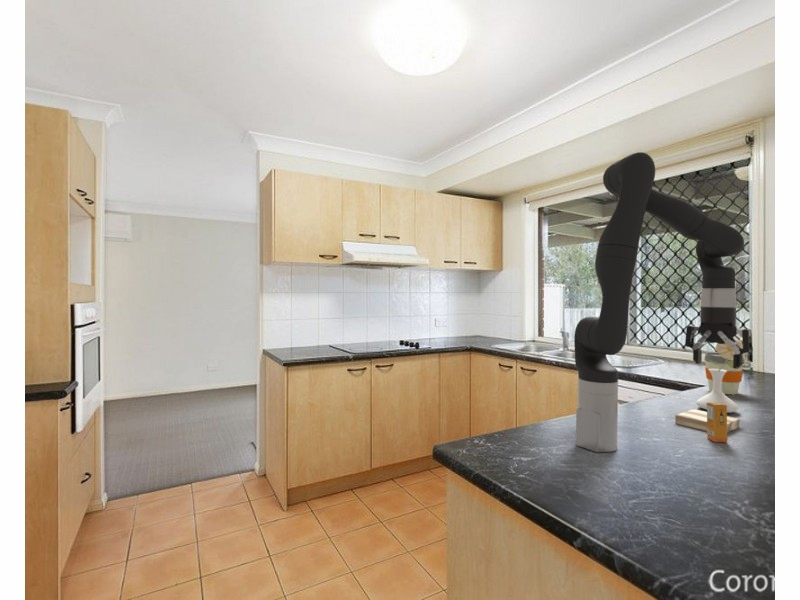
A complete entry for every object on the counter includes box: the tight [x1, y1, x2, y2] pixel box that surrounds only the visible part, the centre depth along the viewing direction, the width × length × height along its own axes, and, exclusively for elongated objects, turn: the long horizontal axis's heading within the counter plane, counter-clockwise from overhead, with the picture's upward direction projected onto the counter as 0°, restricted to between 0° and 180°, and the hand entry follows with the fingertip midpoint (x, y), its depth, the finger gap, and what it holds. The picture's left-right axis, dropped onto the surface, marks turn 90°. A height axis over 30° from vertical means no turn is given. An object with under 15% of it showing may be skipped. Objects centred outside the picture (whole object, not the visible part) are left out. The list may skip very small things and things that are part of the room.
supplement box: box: [706, 403, 728, 443], centre depth 110 cm, size 3×3×10 cm
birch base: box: [674, 408, 741, 433], centre depth 123 cm, size 12×12×2 cm
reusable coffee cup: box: [703, 352, 745, 396], centre depth 165 cm, size 13×13×15 cm
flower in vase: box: [695, 338, 746, 414], centre depth 138 cm, size 13×11×25 cm
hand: (716, 365), depth 110 cm, fingers open, 8 cm apart
